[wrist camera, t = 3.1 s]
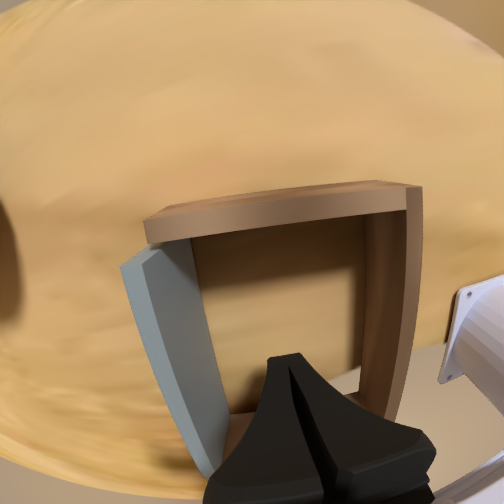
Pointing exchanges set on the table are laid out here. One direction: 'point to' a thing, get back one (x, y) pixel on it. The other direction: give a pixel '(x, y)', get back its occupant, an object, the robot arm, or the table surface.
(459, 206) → the table surface
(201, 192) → the table surface
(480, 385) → the robot arm
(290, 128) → the table surface
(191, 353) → the flat gray panel
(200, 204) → the crate
